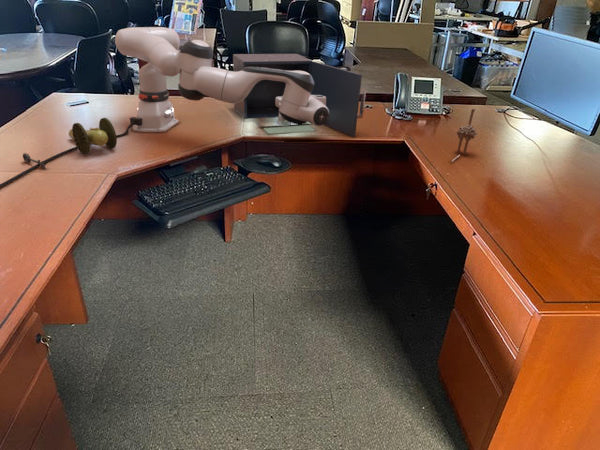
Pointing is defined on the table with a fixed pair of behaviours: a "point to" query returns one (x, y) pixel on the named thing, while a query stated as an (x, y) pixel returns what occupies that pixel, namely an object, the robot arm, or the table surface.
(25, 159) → the key
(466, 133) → the ostrich figurine
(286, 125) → the steel tumbler
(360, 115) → the cupboard door
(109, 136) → the cannon
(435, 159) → the table surface
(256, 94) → the cupboard
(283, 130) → the desk mat
